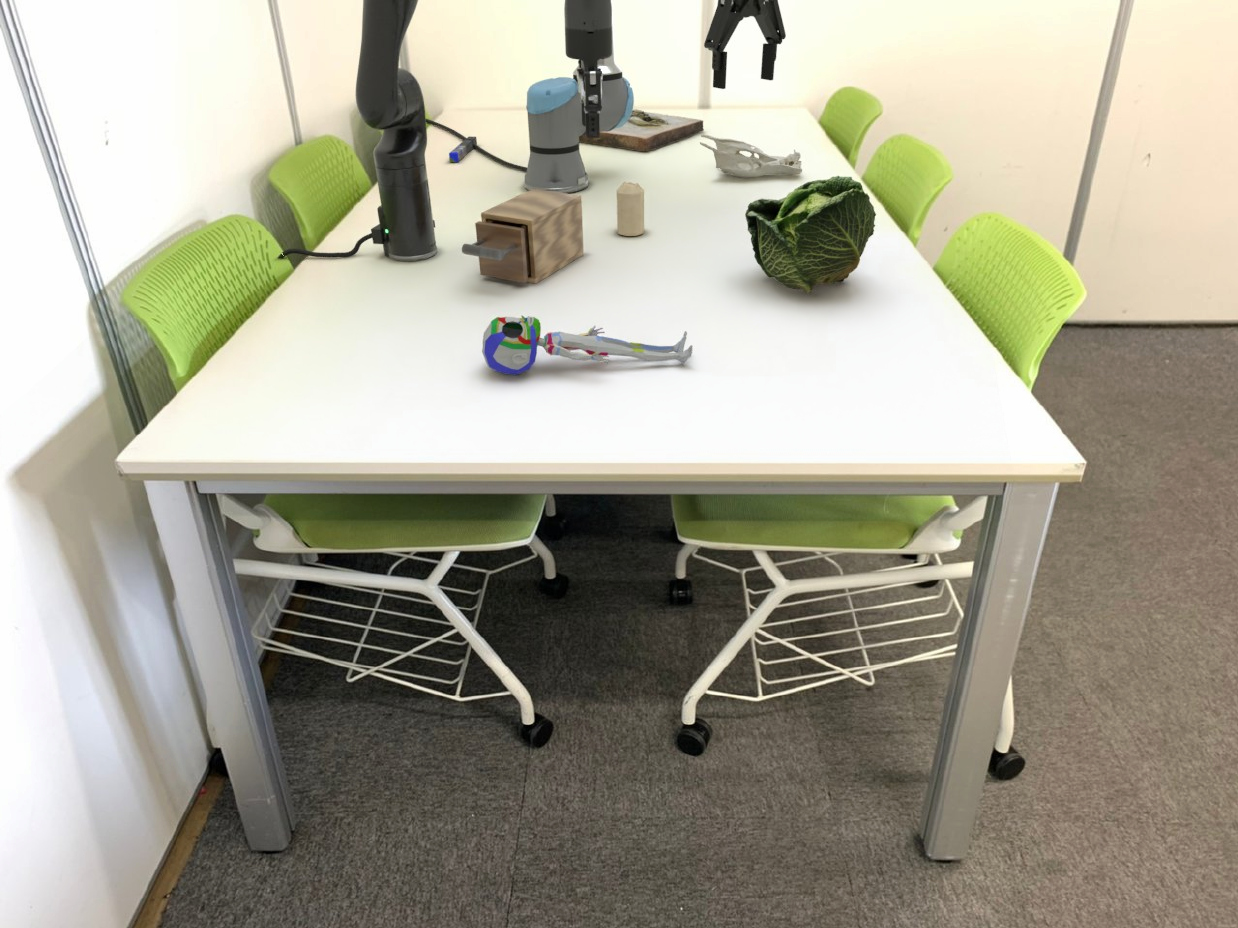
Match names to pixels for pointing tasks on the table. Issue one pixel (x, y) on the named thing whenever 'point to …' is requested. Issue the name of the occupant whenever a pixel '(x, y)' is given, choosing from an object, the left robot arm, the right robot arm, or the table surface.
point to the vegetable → (812, 232)
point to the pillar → (462, 149)
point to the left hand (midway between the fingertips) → (590, 131)
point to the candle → (630, 209)
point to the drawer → (501, 250)
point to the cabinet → (545, 228)
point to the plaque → (647, 131)
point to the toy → (561, 345)
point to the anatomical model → (751, 160)
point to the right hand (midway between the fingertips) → (743, 84)
